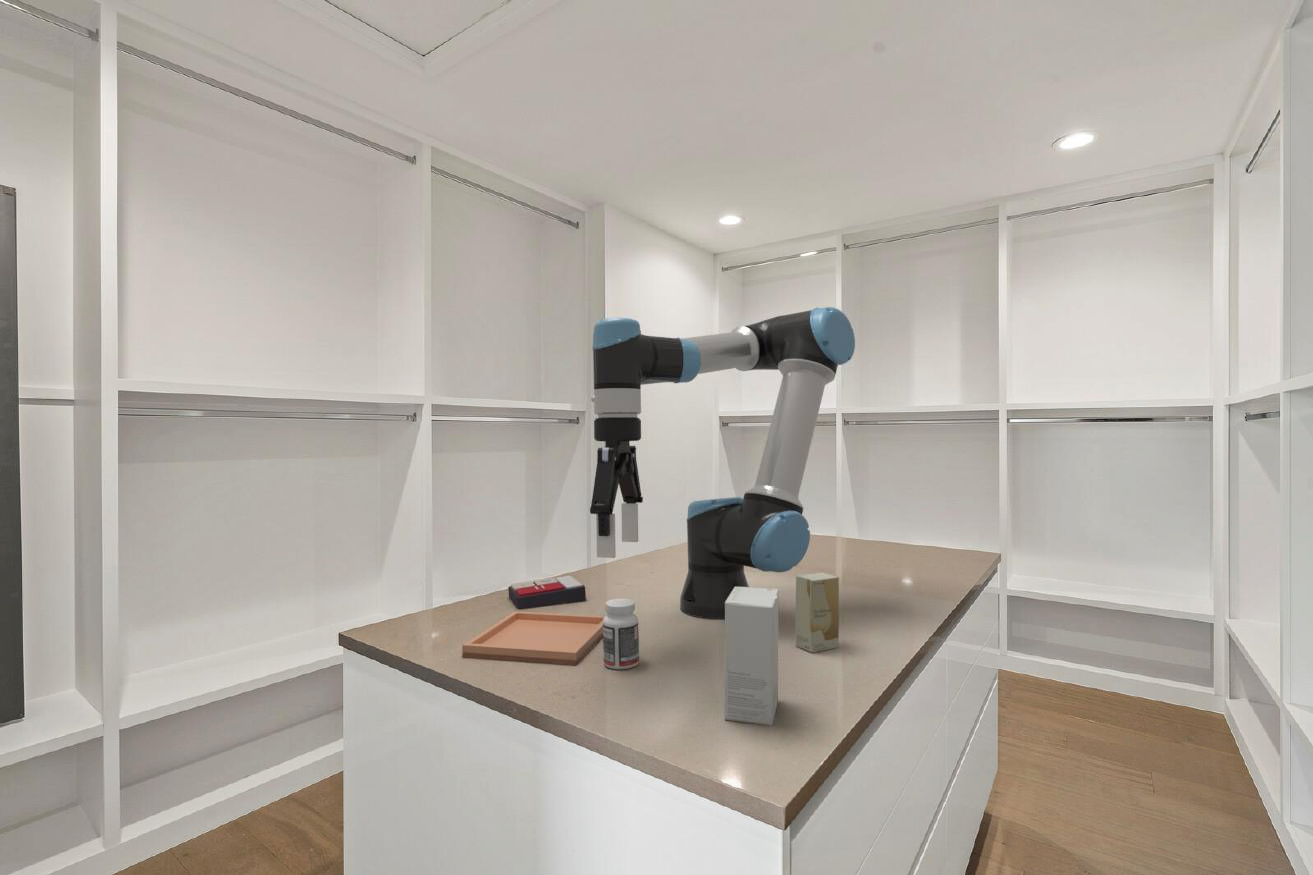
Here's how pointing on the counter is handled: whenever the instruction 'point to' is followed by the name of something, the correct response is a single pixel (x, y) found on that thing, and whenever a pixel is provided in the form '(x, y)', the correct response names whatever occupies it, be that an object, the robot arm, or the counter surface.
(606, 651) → the pill bottle
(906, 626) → the counter surface
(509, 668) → the counter surface
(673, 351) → the robot arm
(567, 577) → the calculator
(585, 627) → the tray
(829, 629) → the skincare box
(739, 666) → the skincare box
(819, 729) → the counter surface
